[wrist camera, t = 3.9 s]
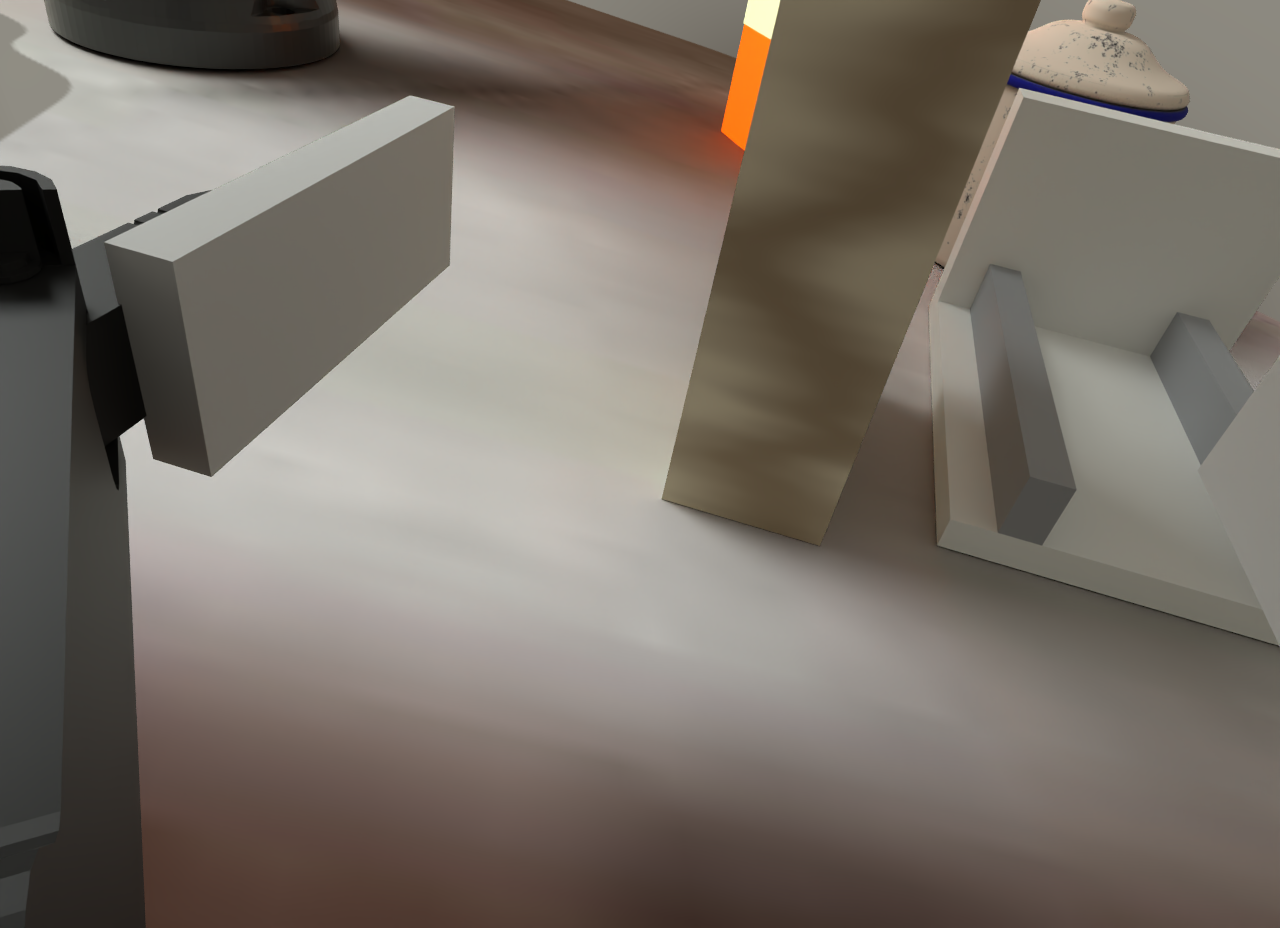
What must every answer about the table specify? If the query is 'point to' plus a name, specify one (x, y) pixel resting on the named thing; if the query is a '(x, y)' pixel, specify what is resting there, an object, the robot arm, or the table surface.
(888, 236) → the tall wooden block
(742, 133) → the orange juice
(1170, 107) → the teacup with lid
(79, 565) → the robot arm
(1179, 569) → the track
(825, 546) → the table surface
